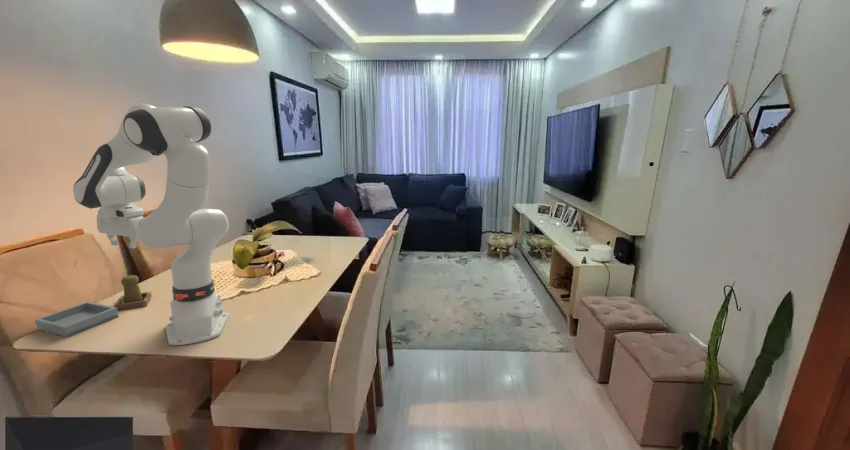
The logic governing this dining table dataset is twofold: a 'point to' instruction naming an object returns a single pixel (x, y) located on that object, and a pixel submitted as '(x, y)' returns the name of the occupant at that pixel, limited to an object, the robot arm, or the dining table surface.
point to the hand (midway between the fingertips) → (124, 246)
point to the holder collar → (122, 306)
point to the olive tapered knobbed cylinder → (131, 289)
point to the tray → (76, 318)
